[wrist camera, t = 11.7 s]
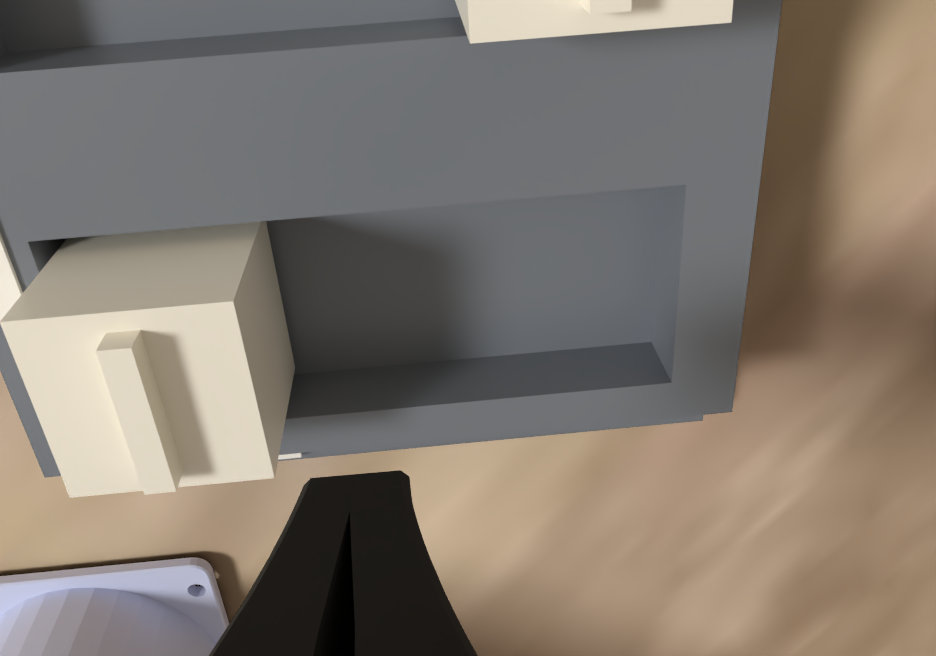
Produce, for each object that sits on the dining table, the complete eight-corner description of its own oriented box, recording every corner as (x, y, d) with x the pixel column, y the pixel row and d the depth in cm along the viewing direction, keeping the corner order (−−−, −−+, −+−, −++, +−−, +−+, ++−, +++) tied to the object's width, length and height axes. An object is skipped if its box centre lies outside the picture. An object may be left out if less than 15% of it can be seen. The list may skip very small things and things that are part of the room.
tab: (295, 367, 20) (270, 498, 16) (125, 382, 20) (59, 519, 16) (263, 211, 18) (227, 318, 14) (75, 227, 18) (-16, 340, 14)
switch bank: (688, 394, 23) (726, 467, 21) (103, 449, 23) (64, 531, 20) (767, -489, 14) (853, -564, 11) (-214, -429, 14) (-362, -492, 11)
